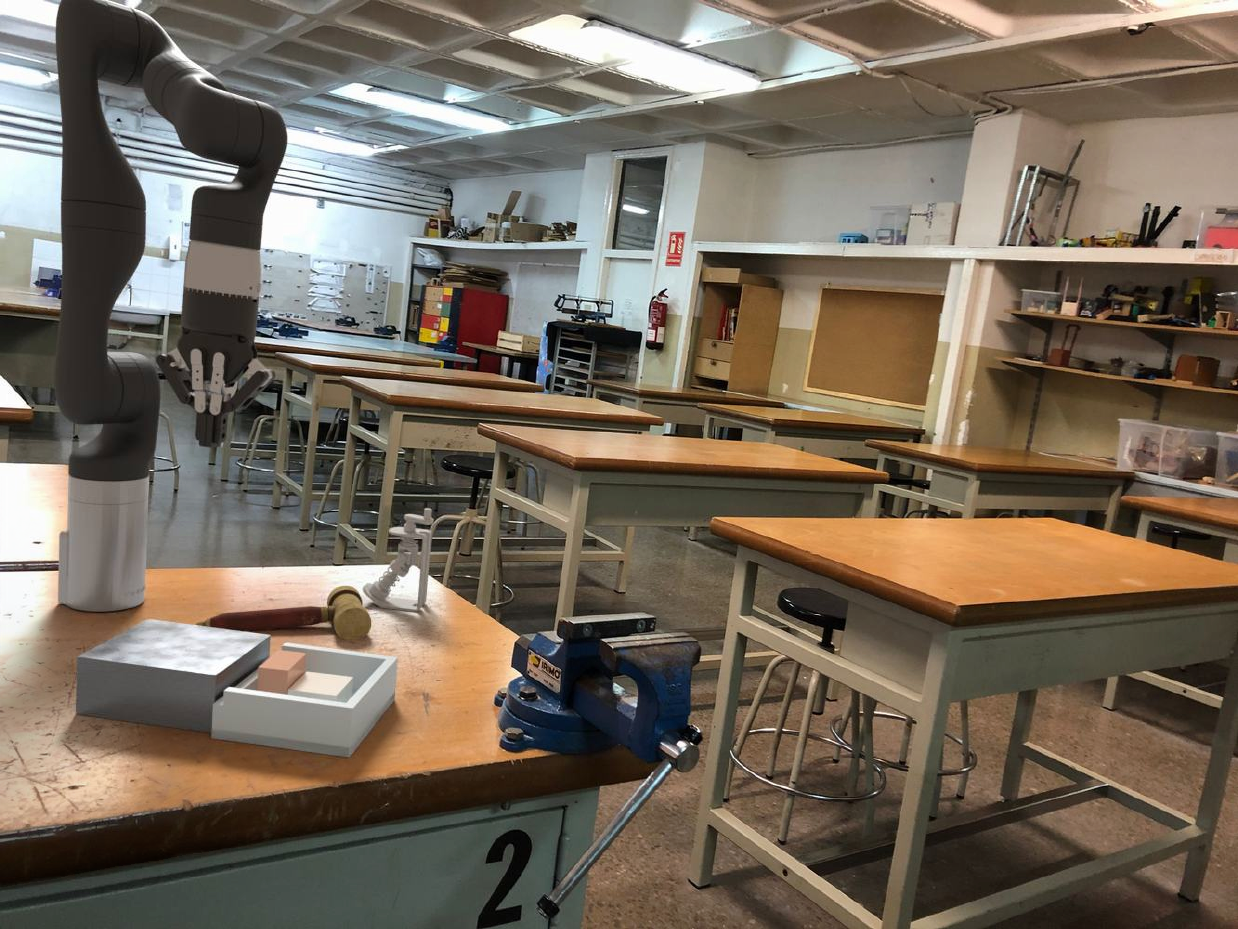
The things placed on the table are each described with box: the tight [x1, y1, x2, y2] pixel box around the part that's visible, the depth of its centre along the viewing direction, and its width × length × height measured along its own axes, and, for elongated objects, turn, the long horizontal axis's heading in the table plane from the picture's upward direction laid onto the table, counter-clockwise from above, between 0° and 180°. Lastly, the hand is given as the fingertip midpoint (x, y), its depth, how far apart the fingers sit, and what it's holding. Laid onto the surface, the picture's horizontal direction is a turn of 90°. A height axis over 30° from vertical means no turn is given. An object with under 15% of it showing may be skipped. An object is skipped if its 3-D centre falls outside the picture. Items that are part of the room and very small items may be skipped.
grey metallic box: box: [75, 618, 272, 734], centre depth 96 cm, size 14×12×6 cm
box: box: [210, 642, 399, 758], centre depth 95 cm, size 14×14×5 cm
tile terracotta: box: [257, 649, 306, 695], centre depth 95 cm, size 5×5×3 cm
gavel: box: [195, 585, 372, 640], centre depth 120 cm, size 21×5×10 cm
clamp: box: [362, 507, 434, 613], centre depth 133 cm, size 4×10×15 cm, turn 88°
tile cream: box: [287, 672, 353, 703], centre depth 95 cm, size 5×5×3 cm
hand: (210, 446), depth 101 cm, fingers closed
